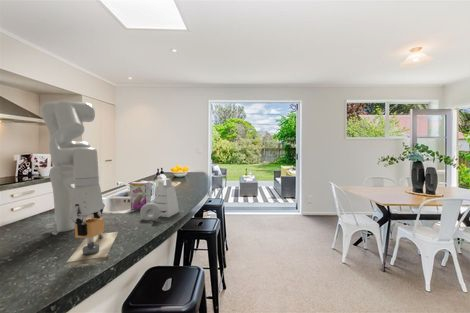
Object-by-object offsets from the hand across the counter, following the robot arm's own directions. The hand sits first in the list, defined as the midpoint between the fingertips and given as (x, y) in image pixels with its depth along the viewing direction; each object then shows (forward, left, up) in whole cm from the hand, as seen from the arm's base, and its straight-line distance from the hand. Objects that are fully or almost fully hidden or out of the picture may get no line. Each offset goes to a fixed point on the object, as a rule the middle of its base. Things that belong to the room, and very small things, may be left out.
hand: (90, 231), depth 88 cm
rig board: (0, +7, -9) cm, 12 cm away
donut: (+19, +34, -10) cm, 40 cm away
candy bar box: (+12, +64, -10) cm, 66 cm away
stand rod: (0, +14, -8) cm, 16 cm away
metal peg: (0, 0, -8) cm, 8 cm away
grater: (+27, +46, -10) cm, 54 cm away
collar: (0, 0, -1) cm, 1 cm away
